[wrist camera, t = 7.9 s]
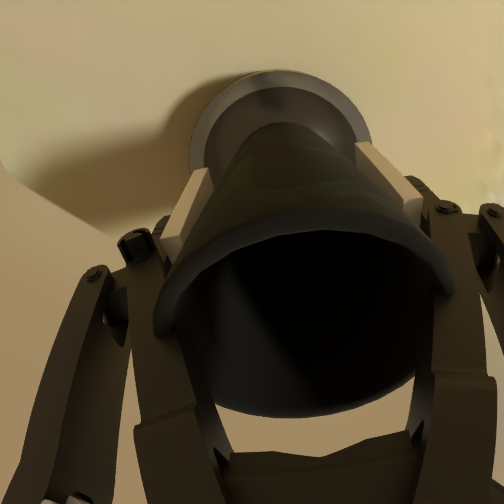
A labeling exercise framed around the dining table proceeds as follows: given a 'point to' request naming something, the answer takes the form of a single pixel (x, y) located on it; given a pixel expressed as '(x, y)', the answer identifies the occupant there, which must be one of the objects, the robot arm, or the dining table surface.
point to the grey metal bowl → (273, 116)
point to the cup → (300, 282)
